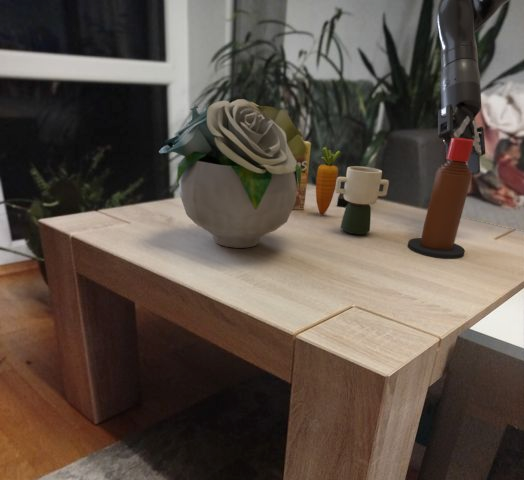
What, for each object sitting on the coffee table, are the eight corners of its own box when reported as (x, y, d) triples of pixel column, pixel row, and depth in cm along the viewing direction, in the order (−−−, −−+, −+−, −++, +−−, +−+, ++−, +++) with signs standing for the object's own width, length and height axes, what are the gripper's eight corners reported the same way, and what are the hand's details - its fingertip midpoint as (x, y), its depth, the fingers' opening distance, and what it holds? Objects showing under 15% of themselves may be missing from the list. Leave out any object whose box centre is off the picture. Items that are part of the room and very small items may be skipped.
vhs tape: (367, 198, 140) (368, 191, 139) (366, 209, 128) (367, 201, 127) (340, 195, 141) (341, 188, 140) (336, 206, 129) (338, 198, 128)
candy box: (268, 209, 120) (274, 140, 113) (265, 205, 124) (270, 138, 117) (304, 210, 122) (312, 142, 115) (300, 206, 126) (307, 140, 118)
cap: (462, 158, 95) (467, 138, 93) (472, 162, 91) (477, 141, 89) (442, 157, 94) (447, 137, 92) (452, 160, 91) (457, 139, 89)
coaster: (449, 242, 106) (450, 238, 106) (474, 259, 96) (475, 255, 96) (399, 240, 104) (400, 236, 104) (419, 257, 95) (420, 253, 95)
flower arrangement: (236, 275, 80) (245, 104, 68) (142, 236, 94) (136, 90, 82) (328, 247, 96) (348, 106, 84) (236, 218, 110) (242, 94, 99)
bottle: (444, 241, 104) (470, 140, 94) (458, 250, 98) (487, 144, 89) (415, 240, 103) (438, 138, 93) (427, 249, 97) (453, 142, 88)
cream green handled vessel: (374, 229, 111) (386, 167, 105) (383, 238, 105) (396, 174, 98) (326, 226, 110) (334, 164, 104) (332, 236, 104) (341, 170, 97)
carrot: (335, 215, 120) (345, 148, 112) (326, 219, 116) (336, 150, 109) (317, 211, 122) (325, 145, 115) (307, 215, 118) (315, 147, 111)
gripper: (459, 67, 94) (463, 150, 93) (495, 95, 103) (499, 171, 102) (424, 86, 100) (427, 164, 99) (460, 111, 109) (464, 183, 108)
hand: (463, 168), depth 100 cm, fingers open, 8 cm apart
